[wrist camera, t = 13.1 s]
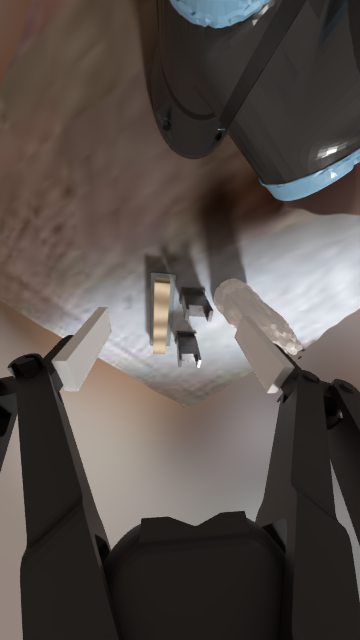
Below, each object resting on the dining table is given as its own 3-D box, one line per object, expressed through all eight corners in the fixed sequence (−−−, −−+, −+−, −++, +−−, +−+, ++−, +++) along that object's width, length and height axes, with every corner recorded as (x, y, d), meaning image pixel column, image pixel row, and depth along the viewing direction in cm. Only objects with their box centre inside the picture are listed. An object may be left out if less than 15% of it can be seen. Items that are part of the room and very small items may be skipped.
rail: (156, 277, 42) (154, 282, 38) (170, 278, 43) (170, 283, 39) (154, 343, 55) (153, 353, 50) (165, 344, 55) (165, 353, 51)
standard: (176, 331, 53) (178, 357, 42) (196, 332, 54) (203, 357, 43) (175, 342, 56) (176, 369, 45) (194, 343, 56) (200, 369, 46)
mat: (150, 272, 42) (150, 272, 42) (176, 274, 43) (176, 274, 42) (150, 344, 55) (150, 345, 55) (169, 345, 56) (169, 346, 56)
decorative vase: (208, 306, 49) (238, 367, 27) (222, 274, 44) (272, 318, 22) (237, 314, 51) (287, 376, 30) (254, 284, 46) (329, 332, 24)
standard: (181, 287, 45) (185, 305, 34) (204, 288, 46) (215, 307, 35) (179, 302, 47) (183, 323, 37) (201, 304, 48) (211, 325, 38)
